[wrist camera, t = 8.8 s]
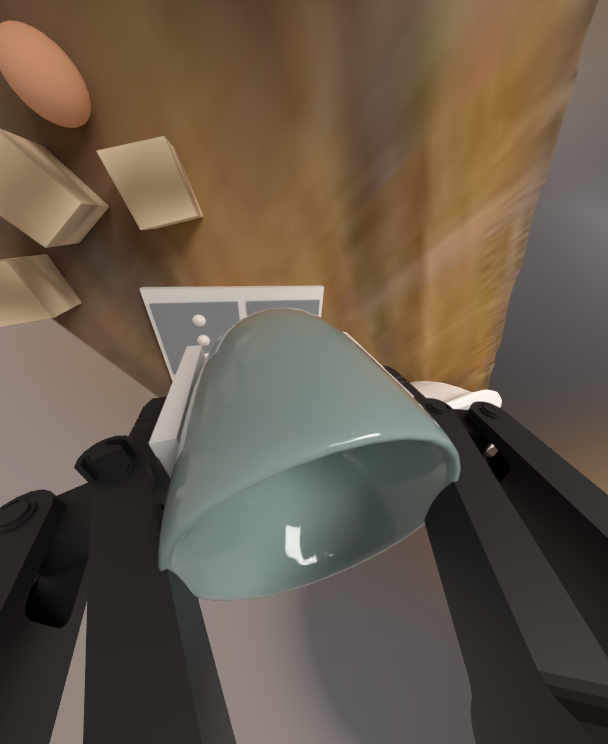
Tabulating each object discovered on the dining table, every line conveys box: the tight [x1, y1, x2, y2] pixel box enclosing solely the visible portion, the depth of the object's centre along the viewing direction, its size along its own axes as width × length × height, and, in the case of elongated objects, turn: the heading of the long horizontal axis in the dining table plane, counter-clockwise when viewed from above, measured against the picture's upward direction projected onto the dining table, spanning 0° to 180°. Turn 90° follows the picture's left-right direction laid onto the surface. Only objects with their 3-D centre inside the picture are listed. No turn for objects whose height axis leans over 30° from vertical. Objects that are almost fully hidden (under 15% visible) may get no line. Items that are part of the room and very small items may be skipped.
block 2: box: [0, 254, 82, 327], centre depth 19 cm, size 4×4×4 cm
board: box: [140, 286, 324, 381], centre depth 28 cm, size 12×20×1 cm, turn 87°
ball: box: [0, 21, 91, 128], centre depth 14 cm, size 4×4×4 cm
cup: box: [157, 308, 461, 601], centre depth 10 cm, size 8×8×10 cm
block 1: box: [0, 129, 109, 248], centre depth 16 cm, size 4×4×4 cm
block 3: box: [97, 136, 203, 230], centre depth 18 cm, size 4×4×4 cm
